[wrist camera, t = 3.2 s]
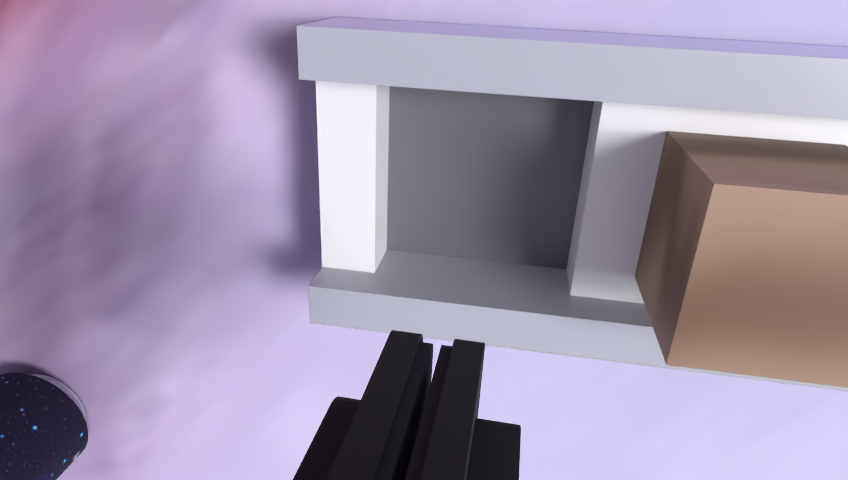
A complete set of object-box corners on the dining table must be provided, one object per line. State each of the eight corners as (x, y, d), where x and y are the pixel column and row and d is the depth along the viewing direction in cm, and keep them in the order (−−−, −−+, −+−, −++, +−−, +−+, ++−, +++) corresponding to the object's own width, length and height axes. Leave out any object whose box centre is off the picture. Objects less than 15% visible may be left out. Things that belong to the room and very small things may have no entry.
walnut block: (666, 130, 18) (714, 183, 13) (844, 144, 17) (958, 205, 13) (634, 276, 20) (666, 365, 15) (792, 293, 19) (873, 391, 15)
